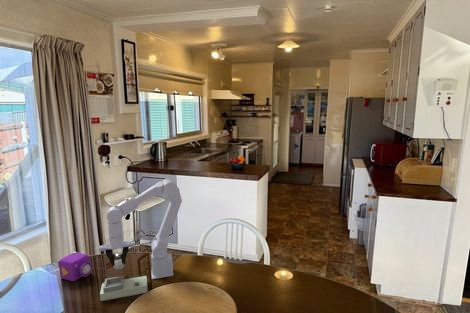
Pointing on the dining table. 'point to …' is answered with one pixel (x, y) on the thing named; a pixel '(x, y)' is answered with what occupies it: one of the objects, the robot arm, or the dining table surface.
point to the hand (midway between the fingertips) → (118, 264)
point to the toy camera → (75, 266)
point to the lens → (118, 260)
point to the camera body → (122, 287)
